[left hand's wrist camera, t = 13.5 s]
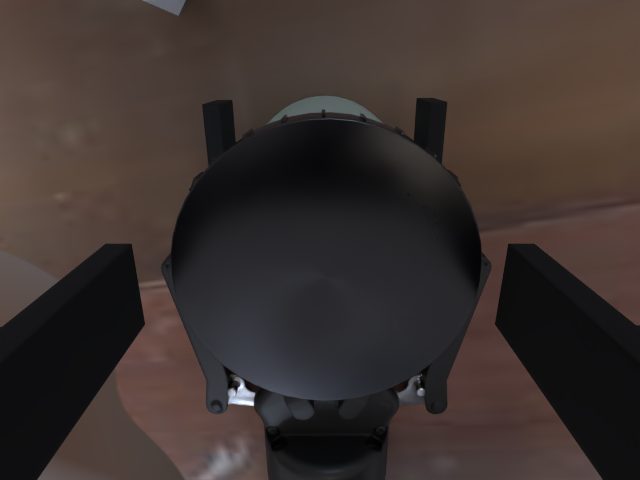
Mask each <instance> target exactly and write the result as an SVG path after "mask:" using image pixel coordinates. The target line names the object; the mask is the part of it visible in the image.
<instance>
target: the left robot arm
mask: <svg viewBox="0 0 640 480" xmlns="http://www.w3.org/2000/svg"><path fill="white" fill-rule="evenodd" d="M144 325H145V322H144V316H143V310H142V304H141V298H140V291H139V285H138V279H137V273H136V267H135V261H134V255H133V249H132V244H105V245H104V246H102V247H101V248H100V249H99V250H97V251H96V252H95V253H94V254H92V255H91V256H90V257H89V258H87V259H86V260H85V261H84V262H82V263H81V264H80V265H79V266H77V267H76V268H75V269H74V270H72V271H71V272H70V273H69V274H67V275H66V276H65V277H64V278H62V279H61V280H60V281H59V282H57V283H56V284H55V285H54V286H52V287H51V288H50V289H49V290H47V291H46V292H45V293H44V294H43V295H41V296H40V297H39V298H38V299H36V300H35V301H34V302H33V303H31V304H30V305H29V306H28V307H26V308H25V309H24V310H23V311H21V312H20V313H19V314H18V315H16V316H15V317H14V318H13V319H11V320H10V321H9V322H8V323H6V324H5V325H4V326H3V327H0V480H37V479H38V477H39V476H40V475H41V473H42V472H43V470H44V469H45V467H46V466H47V465H48V463H49V462H50V460H51V459H52V457H53V456H54V455H55V453H56V452H57V450H58V449H59V447H60V446H61V444H62V443H63V442H64V440H65V439H66V437H67V436H68V434H69V433H70V431H71V430H72V429H73V427H74V426H75V424H76V423H77V421H78V420H79V419H80V417H81V416H82V414H83V413H84V411H85V410H86V408H87V407H88V406H89V404H90V403H91V401H92V400H93V398H94V397H95V395H96V394H97V393H98V391H99V390H100V388H101V387H102V385H103V384H104V383H105V381H106V380H107V378H108V377H109V375H110V374H111V372H112V371H113V370H114V368H115V367H116V365H117V364H118V362H119V361H120V359H121V358H122V357H123V355H124V354H125V352H126V351H127V349H128V348H129V347H130V345H131V344H132V342H133V341H134V339H135V338H136V336H137V335H138V334H139V332H140V331H141V329H142V328H143V326H144ZM495 325H496V326H497V328H498V329H499V331H500V332H501V334H502V335H503V336H504V338H505V339H506V341H507V342H508V344H509V345H510V347H511V348H512V349H513V351H514V352H515V354H516V355H517V357H518V358H519V359H520V361H521V362H522V364H523V365H524V367H525V368H526V370H527V371H528V372H529V374H530V375H531V377H532V378H533V380H534V381H535V383H536V384H537V385H538V387H539V388H540V390H541V391H542V393H543V394H544V395H545V397H546V398H547V400H548V401H549V403H550V404H551V406H552V407H553V408H554V410H555V411H556V413H557V414H558V416H559V417H560V419H561V420H562V421H563V423H564V424H565V426H566V427H567V429H568V430H569V432H570V433H571V434H572V436H573V437H574V439H575V440H576V442H577V443H578V444H579V446H580V447H581V449H582V450H583V452H584V453H585V455H586V456H587V457H588V459H589V460H590V462H591V463H592V465H593V466H594V468H595V469H596V470H597V472H598V473H599V475H600V476H601V478H602V479H603V480H640V326H636V325H635V324H634V323H632V322H631V321H630V320H629V319H627V318H626V317H625V316H624V315H622V314H621V313H620V312H619V311H617V310H616V309H615V308H614V307H612V306H611V305H610V304H609V303H607V302H606V301H605V300H604V299H602V298H601V297H600V296H599V295H597V294H596V293H595V292H594V291H593V290H591V289H590V288H589V287H588V286H586V285H585V284H584V283H583V282H581V281H580V280H579V279H578V278H576V277H575V276H574V275H573V274H571V273H570V272H569V271H568V270H566V269H565V268H564V267H563V266H561V265H560V264H559V263H558V262H556V261H555V260H554V259H553V258H551V257H550V256H549V255H548V254H546V253H545V252H544V251H543V250H541V249H540V248H539V247H538V246H536V245H535V244H508V249H507V255H506V261H505V267H504V273H503V279H502V285H501V291H500V297H499V304H498V310H497V316H496V322H495Z"/></svg>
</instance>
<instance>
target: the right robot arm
mask: <svg viewBox="0 0 640 480" xmlns="http://www.w3.org/2000/svg"><path fill="white" fill-rule="evenodd" d="M202 106H203V116H204V125H205V135H206V144H207V154H208V164H209V166H210V165H211V164H212V163H213V161H212V159H213V158H214V157H215V156H217V155H218V154H219V153H220V152H222V151H223V152H225V151H226V150H228V149H229V148H230V147H231V146H232V145H234V144H235V143H236V141H235V129H234V116H233V104H232V100H216V101H213V102H209V103H206V104H202ZM446 109H447V102H445V101H442V100H438V99H434V98H417V103H416V117H415V132H414V142H416V143H417V144H418V145H420V146H421V147H422V148H424V149H425V148H428V149H429V150H430V151H432V152H433V153H434V154H436V155H437V158H436V159H437V160H438V161H439V162H440V163H441V164H442V153H443V142H444V131H445V120H446ZM448 171H449V172H450V174H451V175H452V176H453V178H454V179H455V180H456V181H457V182H459V181H458V178H457V176H456V175H455V174H453V173H452V172H451V171H450V170H448ZM203 173H204V172H201V173H200V174H199V175H197V176H196V177H195V178H194V179H193V182H192V186H193V185H194V184H195V183H196V181H197V180H198V179H199V178H200V176H201V175H202V174H203ZM192 186H191V187H192ZM481 253H482V252H481ZM161 270H162V273H163V276H164V278H165V281H166V283H167V286H168V288H169V291H170V293H171V295H172V298H173V300H174V303H175V305H176V308H177V310H178V312H179V315H180V317H181V320H182V322H183V325H184V327H185V329H186V332H187V334H188V337H189V339H190V342H191V344H192V347H193V349H194V351H195V354H196V356H197V359H198V361H199V364H200V366H201V368H202V371H203V373H204V376H205V378H206V381H207V390H206V406H207V409H208V410H209V411H210V412H211V413H214V414H221V413H224V412H225V411H226V410H227V406H228V404H238V405H249V406H254V408H255V410H256V412H257V413H258V415H259V416H260V417H261V419H262V420H263V423H264V429H265V442H266V455H267V468H268V476H269V480H385V475H386V461H387V445H388V429H389V422H390V420H391V418H392V417H393V415H394V414H395V413H396V411H397V410H398V407H399V406H405V405H415V404H425V406H426V409H427V411H428V412H430V413H432V414H439V413H442V412H443V411H445V409H446V408H447V383H446V381H447V378H448V376H449V373H450V371H451V368H452V366H453V363H454V361H455V358H456V356H457V353H458V351H459V348H460V346H461V343H462V341H463V338H464V336H465V333H466V331H467V328H468V326H469V323H470V321H471V318H472V316H473V313H474V311H475V308H476V306H477V303H478V301H479V298H480V296H481V293H482V291H483V288H484V286H485V283H486V281H487V278H488V276H489V273H490V271H491V263H490V261H489V260H488V259H487V258H486V256H485V255H484V254H483V253H482V267H481V276H480V283H479V287H478V291H477V295H476V299H475V302H474V304H473V307H472V309H471V312H470V314H469V316H468V318H467V320H466V322H465V323H464V325H463V327H462V329H461V330H460V332H459V333H458V335H457V336H456V337H455V339H454V340H453V341H452V343H451V344H450V345H449V346H448V348H447V349H446V350H445V351H444V352H443V353H442V354H441V355H440V356H439V357H438V358H437V359H436V360H434V361H433V362H432V363H431V364H430V365H428V366H427V367H426V368H425V369H423V370H422V371H420V372H419V373H417V374H416V375H414V376H413V377H411V378H409V379H408V380H406V381H404V382H402V383H400V384H398V385H396V386H393V387H391V388H388V389H386V390H383V391H380V392H377V393H374V394H370V395H366V396H362V397H358V398H351V399H343V400H309V399H301V398H295V397H290V396H285V395H282V394H278V393H275V392H272V391H269V390H266V389H264V388H261V387H259V386H257V385H254V384H252V383H250V382H249V381H247V380H245V379H243V378H241V377H239V376H238V375H236V374H235V373H233V372H232V371H231V370H229V369H228V368H226V367H225V366H224V365H222V364H221V363H220V362H219V361H218V360H217V359H216V358H215V357H214V356H212V355H211V354H210V353H209V352H208V350H207V349H206V348H205V347H204V346H203V345H202V343H201V342H200V341H199V340H198V339H197V337H196V336H195V334H194V333H193V331H192V330H191V328H190V327H189V325H188V323H187V321H186V319H185V317H184V315H183V313H182V311H181V309H180V306H179V303H178V300H177V297H176V294H175V290H174V285H173V279H172V274H171V253H170V255H169V256H168V257H167V258H166V260H165V261H164V262H163V263H162V266H161Z"/></svg>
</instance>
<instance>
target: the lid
mask: <svg viewBox="0 0 640 480" xmlns="http://www.w3.org/2000/svg"><path fill="white" fill-rule="evenodd" d="M436 158H437V155H436V154H434V153H433V152H432V151H430V150H429V149H428V148H425V149H424V148H422V147H421V146H420V145H418V144H417V143H416V142H414V141H413V140H412V139H410V138H409V137H408V136H406V135H405V132H404V131H402V130H401V129H400V128H398V127H395V129H394V128H392V127H390V126H388V125H386V124H383V123H380V122H378V121H375V120H372V119H370V118H367V117H366V116H365V115H364V114H361V113H360V116H357V115H352V114H345V113H334V112H325V109H323V110H322V112H321V113H307V114H301V115H296V116H290V117H288V116H287V115H284V116H283V117H282V118H281V119H280V120H278V121H274V122H271V123H269V124H267V125H265V126H263V127H261V128H259V129H257V130H255V131H253V130H252V129H251V130H249V131H248V132H247V133H245V134H244V135H243V138H242V139H240V140H239V141H238V142H236V143H235V144H234V145H232V146H231V147H230V148H229V149H228V150H226V151H225V152H223V151H222V152H220V153H219V154H218V155H217V156H215V157H214V158H213V159H212V161H213V163H212V164H211V165H210V166H209V167H208V168H207V169H206V170H205V172H204V173H203V174H202V175H201V176H200V178H199V179H198V180H197V181H196V183H195V184H194V185H193V186H192V187H191V188H190V189H189V191H190V192H189V194H188V196H187V197H186V199H185V201H184V203H183V206H182V208H181V210H180V213H179V215H178V218H177V221H176V225H175V229H174V233H173V238H172V247H171V274H172V279H173V285H174V290H175V294H176V297H177V300H178V303H179V306H180V309H181V311H182V313H183V315H184V317H185V319H186V321H187V323H188V325H189V327H190V328H191V330H192V331H193V333H194V334H195V336H196V337H197V339H198V340H199V341H200V342H201V343H202V345H203V346H204V347H205V348H206V349H207V350H208V352H209V353H210V354H211V355H212V356H214V357H215V358H216V359H217V360H218V361H219V362H220V363H221V364H222V365H224V366H225V367H226V368H228V369H229V370H231V371H232V372H233V373H235V374H236V375H238V376H239V377H241V378H243V379H245V380H247V381H249V382H250V383H252V384H254V385H257V386H259V387H261V388H264V389H266V390H269V391H272V392H275V393H278V394H282V395H285V396H290V397H295V398H301V399H309V400H343V399H351V398H358V397H362V396H366V395H370V394H374V393H377V392H380V391H383V390H386V389H388V388H391V387H393V386H396V385H398V384H400V383H402V382H404V381H406V380H408V379H409V378H411V377H413V376H414V375H416V374H417V373H419V372H420V371H422V370H423V369H425V368H426V367H427V366H428V365H430V364H431V363H432V362H433V361H434V360H436V359H437V358H438V357H439V356H440V355H441V354H442V353H443V352H444V351H445V350H446V349H447V348H448V346H449V345H450V344H451V343H452V341H453V340H454V339H455V337H456V336H457V335H458V333H459V332H460V330H461V329H462V327H463V325H464V323H465V322H466V320H467V318H468V316H469V314H470V312H471V309H472V307H473V304H474V302H475V299H476V295H477V291H478V287H479V283H480V276H481V267H482V253H481V241H480V235H479V230H478V225H477V222H476V219H475V216H474V214H473V211H472V208H471V206H470V204H469V202H468V200H467V198H466V196H465V194H464V192H463V191H462V189H461V185H460V183H459V182H457V181H456V180H455V179H454V178H453V176H452V175H451V174H450V172H449V171H448V170H447V169H446V168H445V167H444V166H443V165H442V164H441V163H440V162H439V161H438V160H437V159H436Z"/></svg>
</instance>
